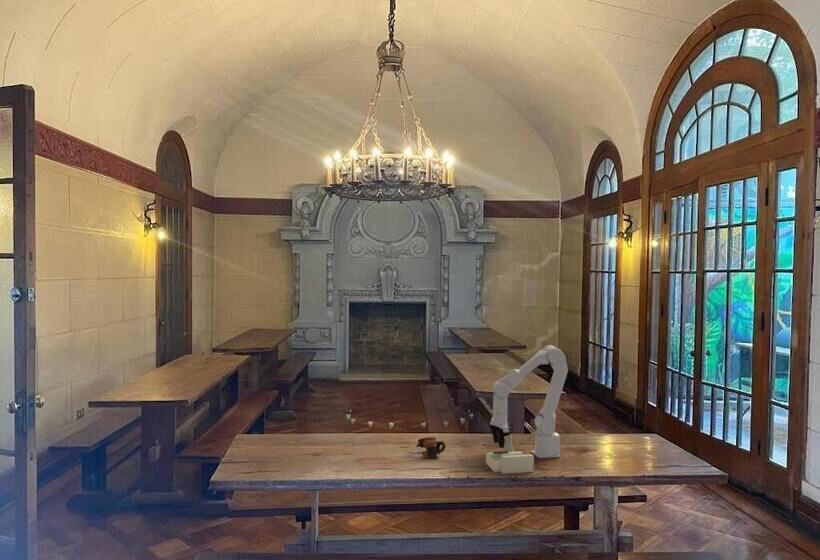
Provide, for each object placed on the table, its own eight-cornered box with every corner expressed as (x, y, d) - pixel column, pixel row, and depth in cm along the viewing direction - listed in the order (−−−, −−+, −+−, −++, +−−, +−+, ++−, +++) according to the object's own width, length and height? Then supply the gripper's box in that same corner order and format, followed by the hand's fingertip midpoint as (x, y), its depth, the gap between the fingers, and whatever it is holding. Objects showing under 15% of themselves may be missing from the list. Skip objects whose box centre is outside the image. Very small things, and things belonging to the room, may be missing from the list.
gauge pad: (520, 464, 223) (521, 449, 222) (522, 465, 221) (522, 451, 221) (492, 466, 220) (492, 451, 220) (493, 467, 219) (493, 452, 219)
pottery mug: (415, 460, 228) (413, 438, 232) (422, 463, 236) (419, 442, 240) (444, 454, 225) (442, 433, 229) (450, 458, 234) (447, 437, 237)
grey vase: (517, 466, 221) (518, 440, 221) (498, 465, 222) (498, 439, 222) (516, 460, 228) (517, 434, 228) (498, 458, 230) (498, 433, 229)
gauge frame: (521, 461, 227) (521, 445, 227) (533, 471, 216) (533, 455, 216) (485, 463, 224) (486, 447, 224) (496, 474, 213) (496, 458, 213)
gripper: (484, 407, 240) (483, 439, 240) (496, 416, 226) (496, 451, 226) (500, 406, 241) (500, 439, 242) (514, 416, 227) (513, 450, 228)
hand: (499, 445), depth 234 cm, fingers open, 6 cm apart
